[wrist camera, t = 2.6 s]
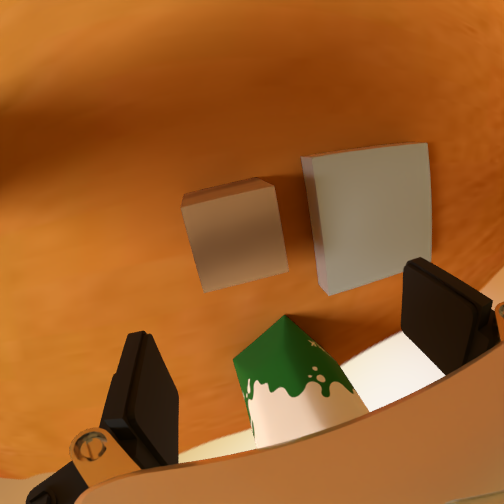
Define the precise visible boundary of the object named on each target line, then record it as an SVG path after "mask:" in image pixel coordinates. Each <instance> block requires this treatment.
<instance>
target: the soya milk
mask: <svg viewBox="0 0 504 504" xmlns="http://www.w3.org/2000/svg"><path fill="white" fill-rule="evenodd" d="M233 362H234V366H235V369H236V373H237V376H238V379H239V383H240V386H241V390H242V393H243V396H244V399H245V403H246V407H247V411H248V415H249V419H250V423H251V427H252V431H253V435H254V439H255V443H256V447H257V449H258V448H262V447H266V446H270V445H274V444H278V443H282V442H285V441H289V440H292V439H296V438H299V437H302V436H306V435H309V434H312V433H315V432H318V431H321V430H324V429H327V428H330V427H333V426H336V425H338V424H341V423H344V422H347V421H349V420H352V419H354V418H357V417H360V416H362V415H365V414H367V413H369V411H368V409H367V407H366V406H365V405H364V403H363V401H362V400H361V398H360V397H359V395H358V394H357V392H356V390H355V389H354V387H353V386H352V384H351V383H350V381H349V380H348V378H347V377H346V375H345V374H344V372H343V370H342V369H341V367H340V366H339V365H338V363H337V362H336V361H335V360H334V359H333V358H332V357H331V356H330V355H329V354H328V353H327V352H326V351H325V350H324V349H323V348H322V347H321V346H320V345H319V344H317V343H316V342H315V341H314V340H313V339H312V338H311V337H309V336H308V335H307V334H306V333H305V332H304V331H303V330H302V329H300V328H299V327H298V326H297V325H296V324H295V323H294V322H293V321H291V320H290V319H289V318H288V317H287V316H286V315H284V316H282V317H281V318H280V319H279V320H278V321H277V322H276V323H275V324H273V325H272V326H271V327H270V328H269V329H268V330H267V331H265V332H264V333H263V334H262V335H261V336H260V337H259V338H257V339H256V340H255V341H254V342H253V343H252V344H250V345H249V346H248V347H247V348H246V349H245V350H243V351H242V352H241V353H240V354H239V355H237V356H236V357H235V358H234V359H233Z"/></svg>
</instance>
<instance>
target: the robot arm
mask: <svg viewBox="0 0 504 504" xmlns="http://www.w3.org/2000/svg"><path fill="white" fill-rule="evenodd" d="M492 303H493V300H491V299H490V298H488V297H487V296H485V295H483V294H482V293H480V292H479V291H477V290H476V289H474V288H472V287H471V286H469V285H468V284H466V283H464V282H463V281H461V280H459V279H458V278H456V277H454V276H453V275H451V274H449V273H448V272H446V271H444V270H443V269H441V268H439V267H438V266H436V265H434V264H432V263H431V262H429V261H427V260H426V259H424V258H422V257H418V258H415V259H412V260H409V261H407V263H406V266H404V268H403V294H402V314H401V329H402V331H403V333H404V334H405V335H406V336H407V337H408V338H409V339H410V340H412V342H413V343H414V344H415V345H416V346H417V347H418V348H419V349H420V350H421V351H422V352H423V353H424V354H425V355H426V356H427V357H428V358H429V359H430V360H431V361H432V362H433V363H434V364H435V365H436V366H437V367H438V368H439V369H440V370H441V371H442V372H443V373H444V374H445V375H446V376H444V377H443V378H441V379H439V380H437V381H435V382H433V383H431V384H429V385H428V386H426V387H424V388H422V389H420V390H418V391H416V392H414V393H412V394H410V395H408V396H405V397H403V398H401V399H399V400H397V401H395V402H393V403H390V404H388V405H386V406H384V407H381V408H379V409H377V410H374V411H372V412H369V413H367V414H365V415H362V416H360V417H357V418H354V419H352V420H349V421H347V422H344V423H341V424H338V425H336V426H333V427H330V428H327V429H324V430H321V431H318V432H315V433H312V434H309V435H306V436H302V437H299V438H296V439H292V440H289V441H285V442H282V443H278V444H274V445H270V446H266V447H262V448H258V449H254V450H250V451H245V452H240V453H236V454H231V455H226V456H222V457H217V458H211V459H205V460H199V461H192V462H186V463H180V464H178V415H179V396H178V391H177V389H176V387H175V385H174V382H173V380H172V378H171V376H170V374H169V372H168V370H167V368H166V366H165V363H164V361H163V359H162V357H161V354H160V352H159V350H158V348H157V345H156V343H155V341H154V338H153V336H152V335H151V334H146V332H145V331H139V332H134V333H130V334H128V336H127V339H126V342H125V345H124V348H123V352H122V355H121V358H120V362H119V365H118V368H117V372H116V373H115V374H114V375H113V378H112V381H111V384H110V388H109V392H108V395H107V399H106V402H105V406H104V410H103V414H102V418H101V422H100V426H99V428H90V429H86V430H84V431H82V432H80V433H79V434H78V435H77V436H76V437H75V438H74V439H73V441H72V442H71V445H70V447H69V454H70V457H71V459H72V461H71V462H69V463H68V464H67V465H65V466H64V467H63V468H61V469H60V470H58V471H57V472H56V473H54V474H53V475H52V476H50V477H49V478H47V479H46V480H45V481H43V482H42V483H40V484H39V485H37V486H36V487H35V488H33V489H32V490H31V491H30V493H29V495H28V496H27V499H26V504H504V302H502V303H499V304H498V305H497V306H496V308H495V311H493V310H492V309H491V307H492Z"/></svg>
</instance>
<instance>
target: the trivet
mask: <svg viewBox="0 0 504 504" xmlns="http://www.w3.org/2000/svg"><path fill="white" fill-rule="evenodd" d="M301 162H302V168H303V174H304V180H305V186H306V192H307V199H308V206H309V212H310V219H311V227H312V234H313V241H314V249H315V257H316V265H317V274H318V283H319V285H320V286H321V288H322V289H323V290H324V291H325V292H326V293H327V294H328V296H330V295H334V294H337V293H340V292H343V291H347V290H350V289H353V288H356V287H359V286H362V285H365V284H368V283H371V282H374V281H377V280H380V279H383V278H386V277H389V276H392V275H395V274H398V273H401V272H403V268H404V266H406V263H407V261H409V260H412V259H415V258H418V257H422V258H424V259H426V260H427V261H429V262H431V251H432V200H431V179H430V165H429V154H428V144H427V143H422V142H405V143H395V144H386V145H377V146H369V147H361V148H353V149H346V150H339V151H332V152H326V153H320V154H313V155H307V156H301Z"/></svg>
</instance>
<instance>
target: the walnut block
mask: <svg viewBox="0 0 504 504" xmlns="http://www.w3.org/2000/svg"><path fill="white" fill-rule="evenodd" d="M181 211H182V215H183V219H184V223H185V227H186V230H187V234H188V238H189V242H190V245H191V249H192V253H193V256H194V260H195V263H196V267H197V271H198V274H199V278H200V281H201V284H202V288H203V291H204V293H206V292H211V291H215V290H219V289H223V288H227V287H231V286H235V285H239V284H242V283H246V282H250V281H254V280H258V279H262V278H266V277H270V276H273V275H277V274H281V273H285V272H289V268H288V262H287V256H286V250H285V244H284V238H283V232H282V226H281V220H280V214H279V209H278V203H277V197H276V192H275V186H274V185H272V184H270V183H268V182H265V181H263V180H261V179H259V178H257V177H255V178H250V179H246V180H241V181H237V182H232V183H228V184H223V185H219V186H215V187H211V188H207V189H202V190H198V191H194V192H190V193H186V194H184V196H183V200H182V204H181Z"/></svg>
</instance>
